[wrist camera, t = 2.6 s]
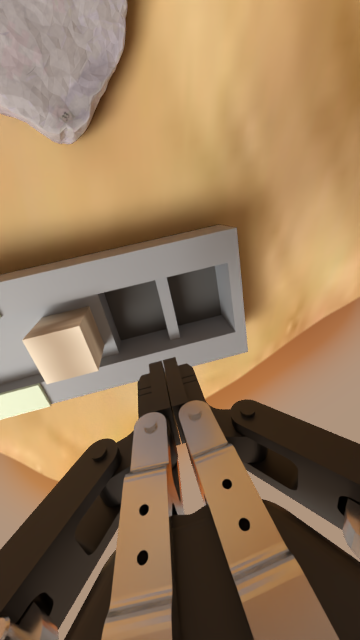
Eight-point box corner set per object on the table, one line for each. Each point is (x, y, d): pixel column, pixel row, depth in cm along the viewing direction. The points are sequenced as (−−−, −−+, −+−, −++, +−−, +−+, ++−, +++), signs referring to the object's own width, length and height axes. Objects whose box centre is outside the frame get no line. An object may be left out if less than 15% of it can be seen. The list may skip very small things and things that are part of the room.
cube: (89, 306, 21) (79, 326, 17) (104, 345, 22) (98, 370, 19) (41, 317, 20) (21, 340, 17) (61, 356, 22) (46, 384, 19)
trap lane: (218, 224, 23) (238, 227, 18) (231, 331, 28) (249, 353, 23) (-70, 290, 21) (-123, 311, 17) (-2, 391, 26) (-29, 427, 22)
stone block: (138, -13, 17) (-45, -180, 12) (154, -67, 13) (-102, -340, 9) (91, 166, 21) (-59, 92, 17) (94, 165, 17) (-101, 67, 13)
